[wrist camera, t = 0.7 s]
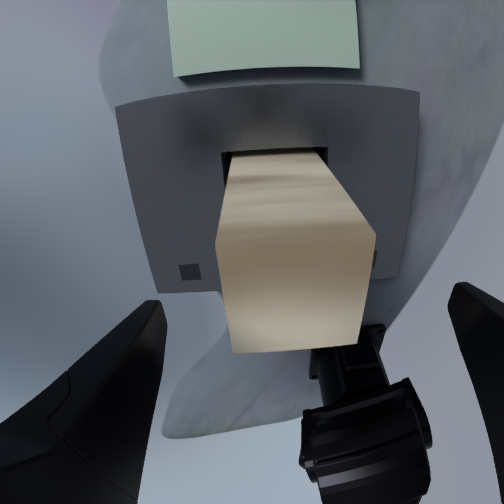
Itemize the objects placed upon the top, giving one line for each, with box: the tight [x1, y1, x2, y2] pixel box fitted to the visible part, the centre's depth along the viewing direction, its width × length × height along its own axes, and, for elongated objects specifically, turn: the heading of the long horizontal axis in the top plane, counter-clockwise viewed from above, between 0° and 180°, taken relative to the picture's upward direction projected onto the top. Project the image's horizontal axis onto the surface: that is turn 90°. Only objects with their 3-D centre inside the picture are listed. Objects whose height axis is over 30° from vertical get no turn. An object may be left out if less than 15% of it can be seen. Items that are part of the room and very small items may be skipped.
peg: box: [215, 147, 376, 354], centre depth 14 cm, size 4×4×11 cm
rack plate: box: [115, 83, 420, 293], centre depth 18 cm, size 12×16×3 cm
